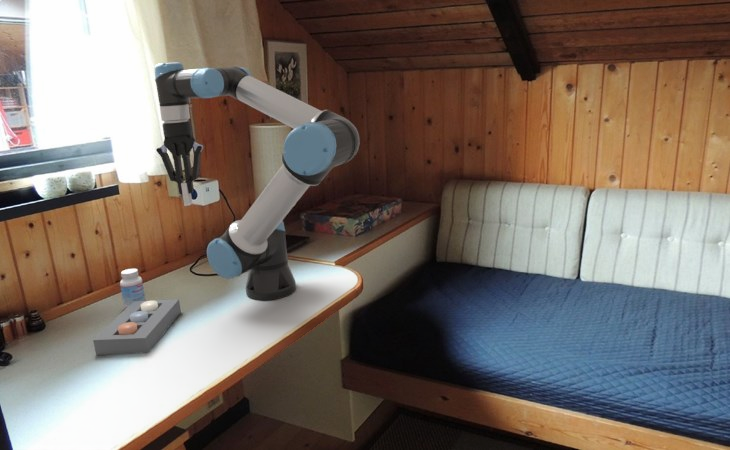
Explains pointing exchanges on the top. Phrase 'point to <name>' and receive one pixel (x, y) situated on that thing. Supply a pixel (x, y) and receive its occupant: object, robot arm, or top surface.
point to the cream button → (149, 306)
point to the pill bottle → (131, 287)
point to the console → (146, 332)
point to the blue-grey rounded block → (139, 316)
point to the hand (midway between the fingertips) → (188, 204)
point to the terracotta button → (127, 328)
